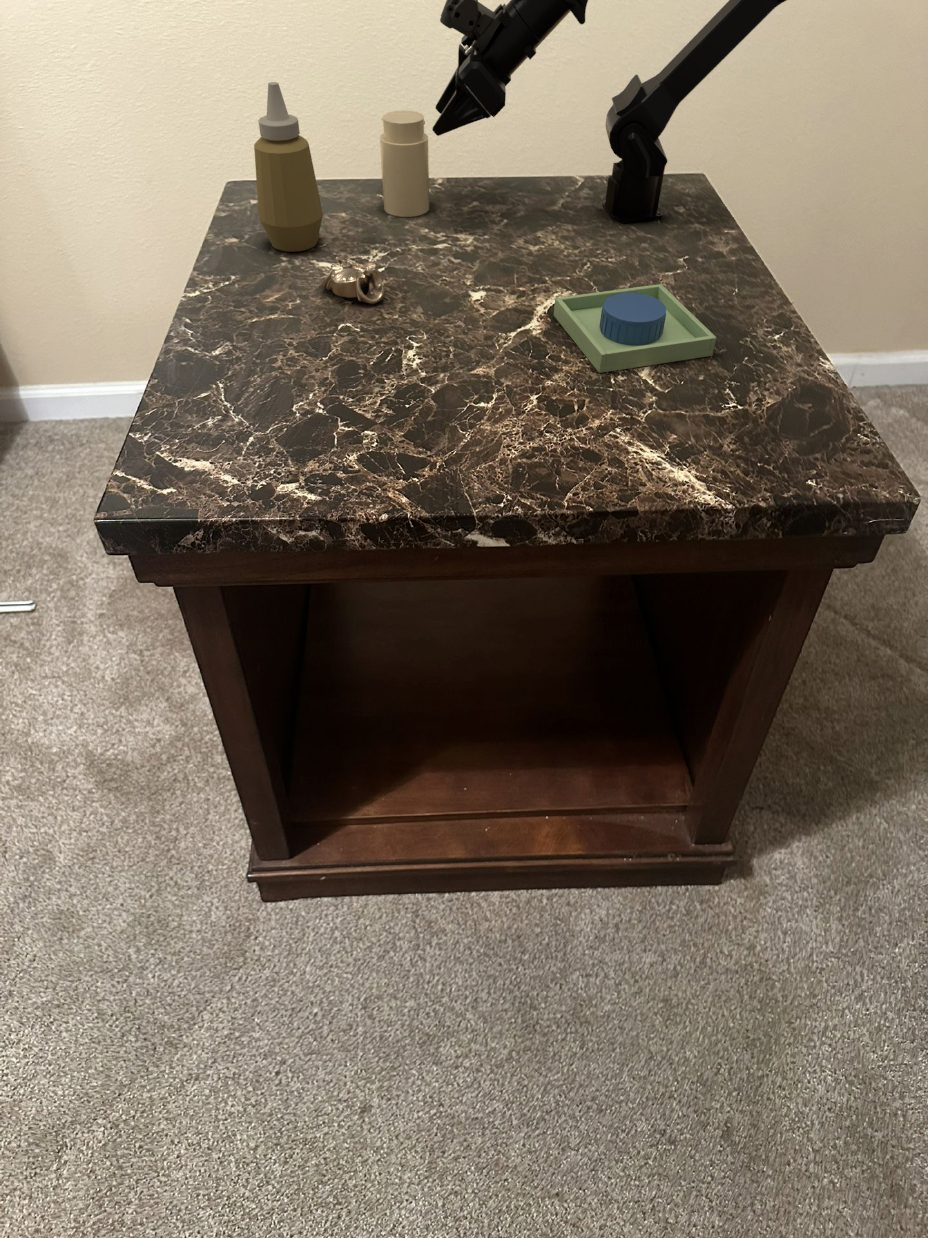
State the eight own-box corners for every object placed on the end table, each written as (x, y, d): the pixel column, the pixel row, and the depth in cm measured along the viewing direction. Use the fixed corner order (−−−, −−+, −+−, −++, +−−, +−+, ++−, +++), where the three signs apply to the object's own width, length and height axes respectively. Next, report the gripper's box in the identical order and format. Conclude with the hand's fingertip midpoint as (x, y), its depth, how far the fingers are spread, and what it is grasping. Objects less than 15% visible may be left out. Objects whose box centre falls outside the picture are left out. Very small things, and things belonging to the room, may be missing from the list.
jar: (422, 197, 119) (420, 107, 110) (434, 214, 115) (433, 121, 106) (379, 201, 117) (373, 110, 109) (389, 218, 113) (384, 125, 105)
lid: (595, 341, 89) (599, 317, 87) (603, 312, 94) (606, 289, 92) (660, 349, 88) (664, 325, 86) (664, 319, 93) (668, 296, 91)
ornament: (401, 291, 98) (400, 260, 96) (364, 313, 94) (361, 281, 92) (350, 273, 101) (348, 243, 99) (312, 294, 97) (308, 263, 95)
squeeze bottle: (336, 236, 109) (320, 77, 96) (308, 260, 104) (288, 96, 91) (281, 227, 111) (259, 70, 98) (251, 251, 105) (223, 88, 92)
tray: (657, 301, 97) (661, 283, 96) (712, 355, 89) (717, 337, 87) (553, 315, 95) (555, 297, 93) (599, 373, 86) (601, 354, 84)
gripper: (481, -54, 102) (396, 50, 110) (480, -25, 89) (384, 90, 97) (539, 25, 108) (454, 118, 116) (546, 62, 95) (450, 164, 103)
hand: (436, 121), depth 108 cm, fingers open, 9 cm apart
